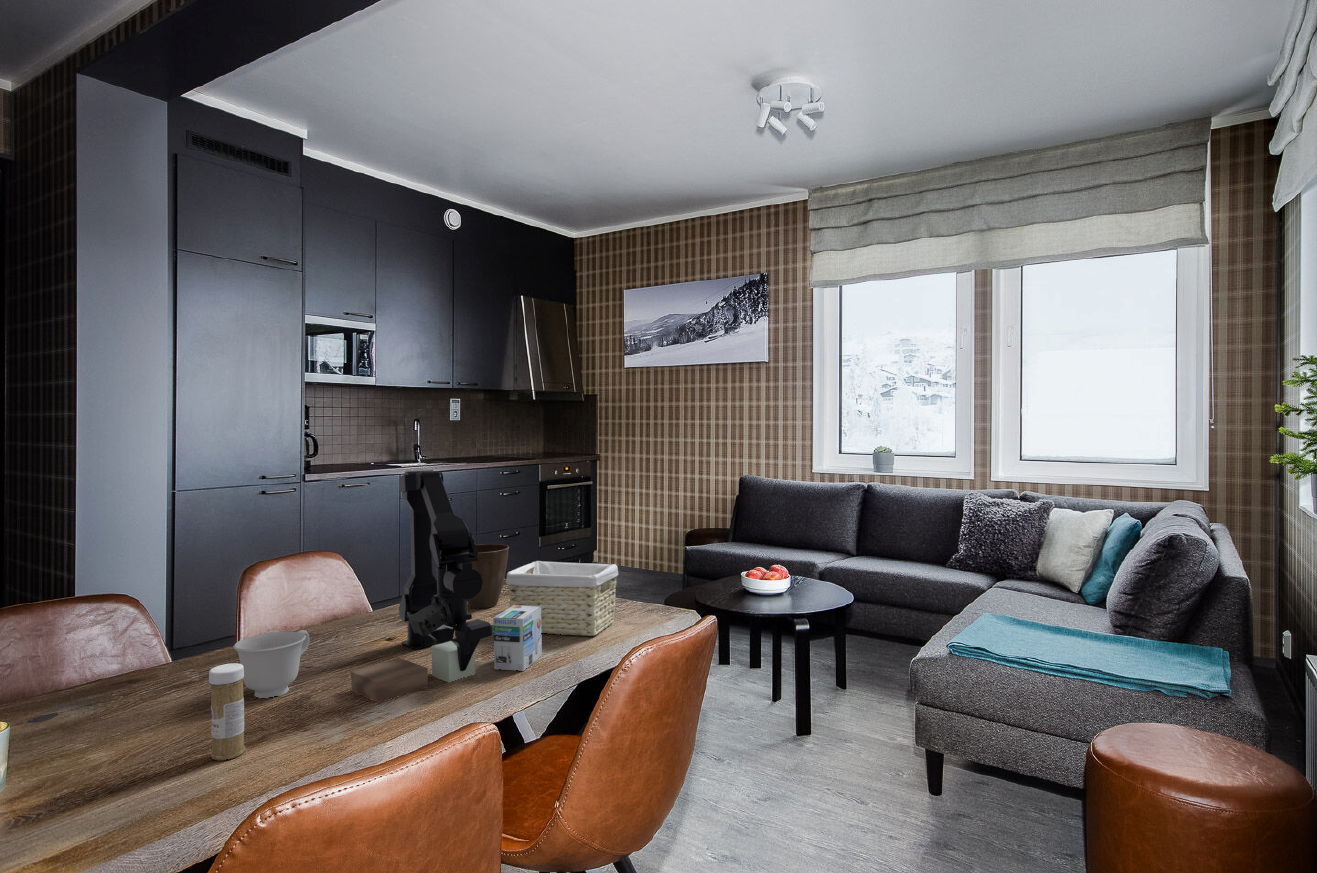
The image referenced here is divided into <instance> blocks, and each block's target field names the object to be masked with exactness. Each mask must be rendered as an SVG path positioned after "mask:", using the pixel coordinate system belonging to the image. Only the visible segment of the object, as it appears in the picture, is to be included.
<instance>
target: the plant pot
mask: <svg viewBox="0 0 1317 873" xmlns="http://www.w3.org/2000/svg"><path fill="white" fill-rule="evenodd" d="M476 547H477V550H478V555H477V559H478V560H477V561H473V562H472V569H474V570H476V571H477V572H479V574H480V575H481V578H482V581H483V584H482V588H481V590H480V592H479V593H478V594H477V595H476V596H475V597H473V598H471V599H467V605H468V606H469V608H470V607H471V609H474V608H484V609H489V607H490V608H493V606H494V607H496V606H497V605H498V602H499V599H500V596H501V594H502V589H503V585H504V582H505V577H506V574H507V573H506V571H507V567H508V566H507V565H508V559H509V558H508V557H509V548H510V546H509V545H507V544H502V543H501V544H500V543H485V544H484V543H483V544H476ZM466 554H469V552H468V550H467V553H466ZM460 555H461V554H460ZM495 605H496V606H495Z"/></svg>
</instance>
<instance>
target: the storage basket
mask: <svg viewBox="0 0 1317 873" xmlns="http://www.w3.org/2000/svg"><path fill="white" fill-rule="evenodd" d="M618 576H619V568H618V565H617V564H615V563H612V564H607V563H588V562H587V563H583V562H581V563H579V562H561V561H559V562H558V561H544V560H543V561H541V560H536V561H532V562H531V563H528V564H524V565H523V566H519V567H517V568H515V569H513V570H511V571H508V572H507V573H506V580H505V583H506V585H507V586H508V595H509V602H508V603H509V608H510V607H511V606H513V605H518V606H535V607H541V633H547V634H550V635H551V634H552V635H553V634H555V635H560V634H561V635H563V636H569V635H570V636H588V637H591V636H593V637H594V636H596V635H598V634H600V633H601V632H602V631H604V630H605V629H606V628H608V627H609V626H611V624H613V622H615V610H616V587H617V577H618Z"/></svg>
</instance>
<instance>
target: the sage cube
mask: <svg viewBox="0 0 1317 873" xmlns="http://www.w3.org/2000/svg"><path fill="white" fill-rule="evenodd" d="M431 671H432V672H431V675H432V676H431V677H434V676H435V677H434V678H436V677H437V678H436V679H439V680H441V679H442V681H444V682H445V683H452V681H453V682H456V681H459V680H461V679H460V678H462V679H464V678H463V677H465V678H467V677H466V676H469V675H472V676H474V674H475V675H476V650H475V651H474V653H473V655H472V657H471V659H470V662H469V664H468V666H467V668H466V670H465V671H460V668H459V661H458V652H457V646H456V645H455V644H454V643H453V642H452V641H449V642H445V643H442V644H438V645H435V644H434V645H431ZM469 677H470V676H469ZM458 679H459V680H458ZM455 680H456V681H455Z"/></svg>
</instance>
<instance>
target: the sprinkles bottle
mask: <svg viewBox="0 0 1317 873" xmlns="http://www.w3.org/2000/svg"><path fill="white" fill-rule="evenodd" d="M243 677H244V667H243V665H242V664H240V663H237V662H236V663H231V662H230V663H226V664H224V663H223V664H221V665H217V666H214V667H212V668H210V670H209V672H208V683H209V685H210V719H211V720H210V733H211V735H210V736H211V754H210V756H211V757H210V758H211V759H212V760H214V761H226V759H228V760H230V759H234V758H237V757H239V756H241V755H242V754H244V753H245V751H246V746H245V733H244V732H245V699H244V688H243V687H244V681H243Z"/></svg>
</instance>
